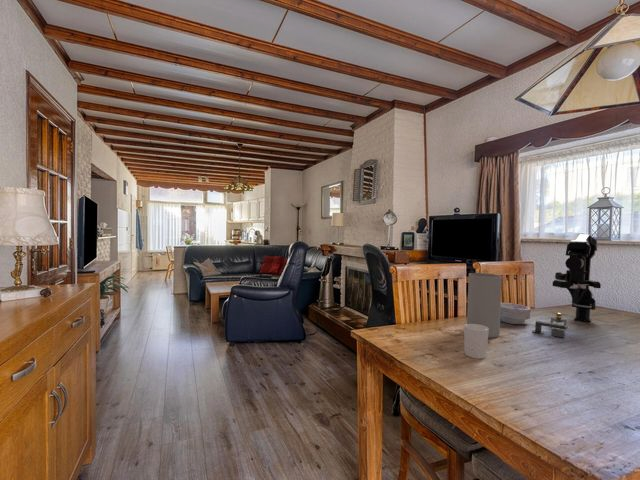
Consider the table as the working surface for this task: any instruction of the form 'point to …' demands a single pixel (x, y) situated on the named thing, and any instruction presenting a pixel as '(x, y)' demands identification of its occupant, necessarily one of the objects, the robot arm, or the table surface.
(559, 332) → the link
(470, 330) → the white cup
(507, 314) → the paper bowls
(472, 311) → the tall grey block
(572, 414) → the table surface
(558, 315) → the pintle
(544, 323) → the keeper
